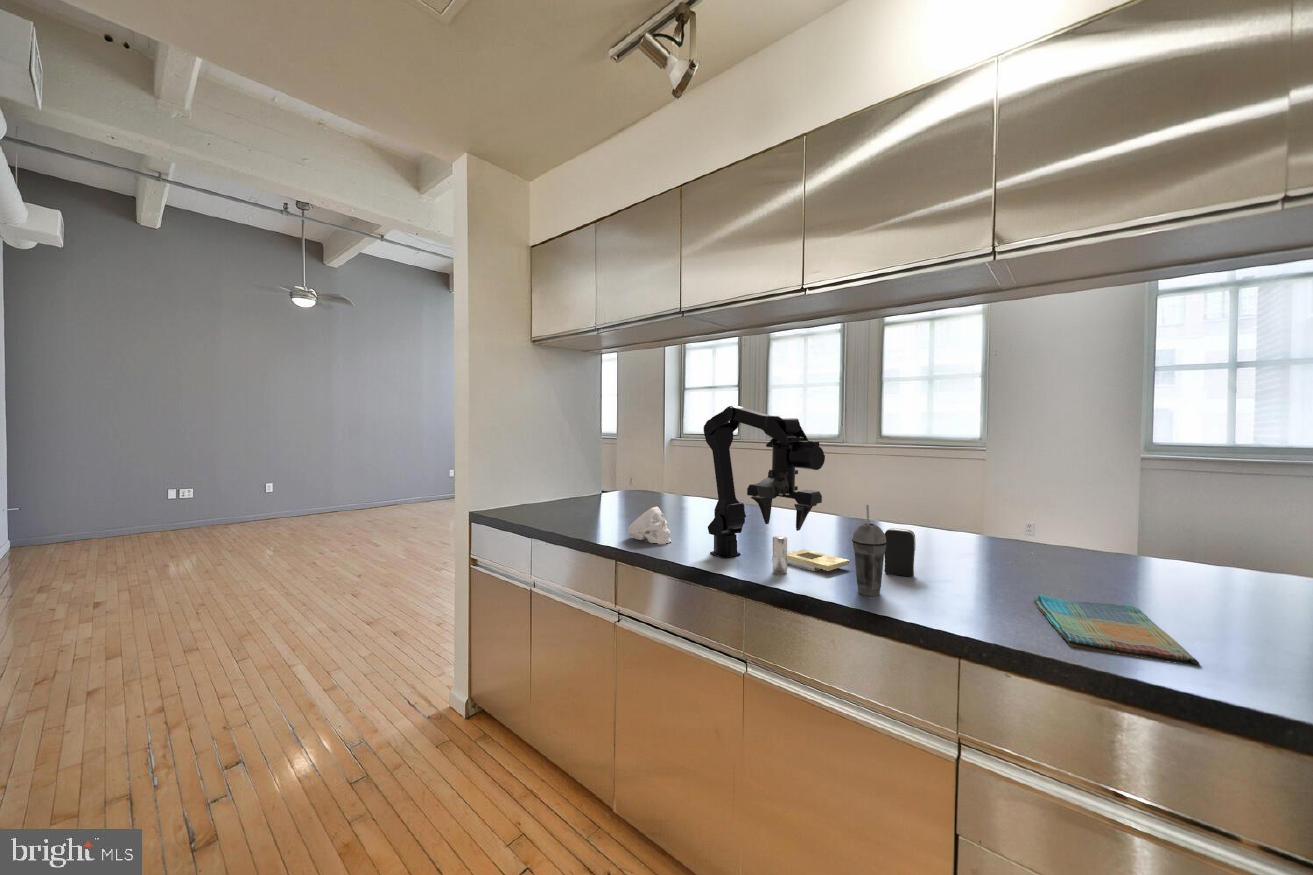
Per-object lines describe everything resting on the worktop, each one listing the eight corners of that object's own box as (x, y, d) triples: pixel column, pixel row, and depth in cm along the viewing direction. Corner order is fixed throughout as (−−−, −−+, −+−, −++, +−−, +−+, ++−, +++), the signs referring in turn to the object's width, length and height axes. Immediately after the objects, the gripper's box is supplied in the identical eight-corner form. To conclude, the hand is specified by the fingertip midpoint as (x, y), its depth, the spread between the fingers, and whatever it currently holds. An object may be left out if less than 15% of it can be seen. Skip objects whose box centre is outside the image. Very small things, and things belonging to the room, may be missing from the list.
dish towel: (1139, 617, 99) (1139, 605, 99) (1203, 670, 78) (1204, 654, 78) (1032, 604, 106) (1032, 592, 106) (1064, 649, 85) (1065, 634, 85)
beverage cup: (891, 592, 113) (892, 503, 112) (879, 600, 107) (880, 507, 107) (858, 585, 118) (859, 500, 117) (846, 593, 112) (846, 504, 112)
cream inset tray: (772, 559, 139) (772, 551, 139) (793, 554, 145) (793, 546, 145) (828, 575, 125) (828, 566, 125) (849, 569, 130) (849, 560, 130)
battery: (916, 574, 126) (916, 529, 125) (914, 578, 122) (914, 531, 122) (886, 569, 130) (886, 526, 129) (883, 573, 126) (883, 528, 126)
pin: (769, 572, 128) (769, 537, 128) (779, 569, 130) (779, 535, 130) (780, 575, 125) (780, 539, 125) (790, 572, 127) (790, 537, 127)
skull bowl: (665, 543, 154) (647, 507, 157) (635, 561, 161) (618, 527, 164) (683, 536, 163) (666, 502, 166) (654, 553, 170) (638, 521, 173)
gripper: (734, 464, 128) (733, 525, 129) (798, 472, 114) (796, 539, 115) (760, 462, 135) (759, 519, 136) (823, 468, 121) (822, 532, 122)
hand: (782, 527), depth 127 cm, fingers open, 9 cm apart
